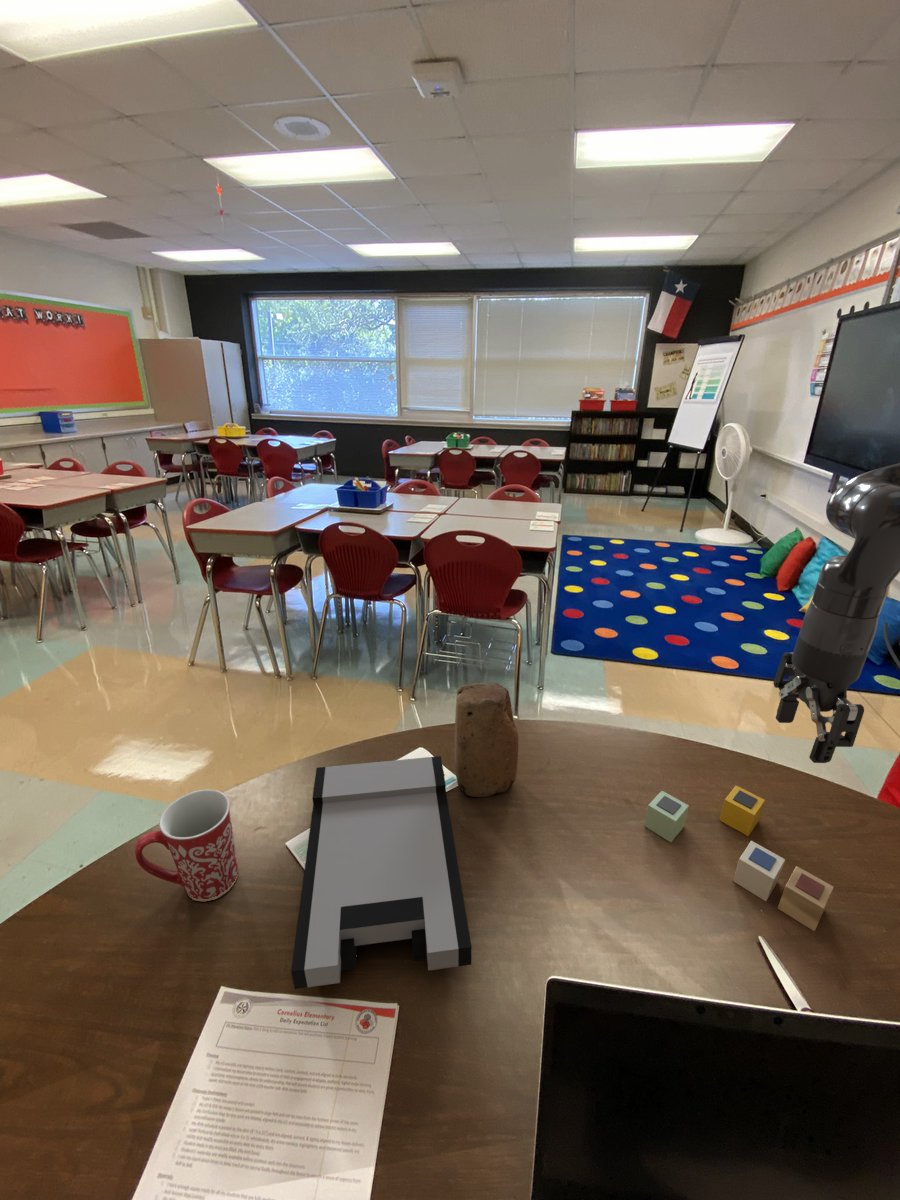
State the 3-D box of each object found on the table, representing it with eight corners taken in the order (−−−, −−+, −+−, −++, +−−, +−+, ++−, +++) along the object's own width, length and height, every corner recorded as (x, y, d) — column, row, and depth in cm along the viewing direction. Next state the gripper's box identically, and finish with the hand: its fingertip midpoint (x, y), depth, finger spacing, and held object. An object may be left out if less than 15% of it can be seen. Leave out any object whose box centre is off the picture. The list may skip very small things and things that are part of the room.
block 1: (456, 800, 94) (456, 705, 85) (453, 770, 101) (453, 679, 92) (518, 797, 94) (524, 702, 86) (511, 767, 101) (516, 676, 93)
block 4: (788, 888, 78) (796, 864, 76) (824, 909, 75) (834, 886, 73) (777, 908, 75) (785, 885, 73) (814, 931, 72) (824, 908, 70)
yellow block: (730, 805, 92) (736, 784, 90) (758, 820, 89) (765, 799, 87) (719, 820, 89) (724, 798, 87) (748, 836, 86) (755, 814, 84)
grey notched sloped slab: (298, 1007, 64) (289, 964, 61) (321, 804, 93) (316, 767, 90) (470, 983, 67) (471, 940, 63) (441, 792, 95) (440, 756, 92)
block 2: (657, 811, 91) (662, 789, 89) (684, 826, 88) (689, 804, 86) (644, 826, 88) (648, 804, 86) (670, 842, 85) (675, 820, 83)
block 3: (744, 862, 82) (751, 839, 80) (777, 881, 79) (785, 858, 77) (732, 881, 79) (739, 858, 77) (766, 901, 76) (774, 878, 74)
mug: (243, 846, 85) (228, 781, 80) (248, 894, 78) (231, 826, 72) (154, 874, 81) (131, 807, 75) (150, 928, 73) (124, 858, 68)
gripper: (905, 668, 62) (861, 777, 69) (829, 613, 75) (798, 709, 82) (839, 667, 62) (801, 776, 69) (774, 613, 75) (748, 709, 82)
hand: (800, 740), depth 75 cm, fingers open, 8 cm apart
